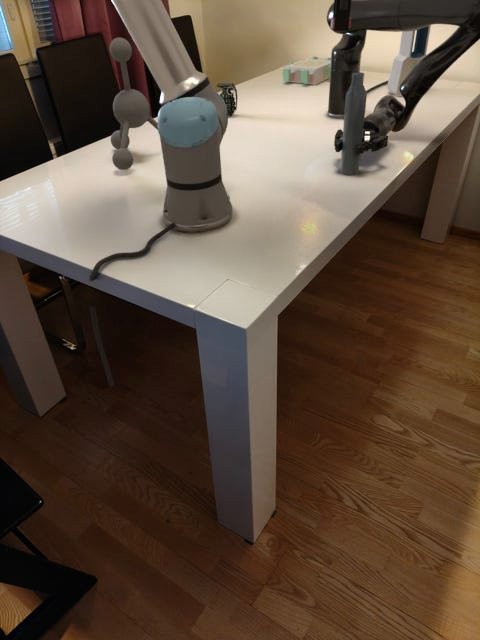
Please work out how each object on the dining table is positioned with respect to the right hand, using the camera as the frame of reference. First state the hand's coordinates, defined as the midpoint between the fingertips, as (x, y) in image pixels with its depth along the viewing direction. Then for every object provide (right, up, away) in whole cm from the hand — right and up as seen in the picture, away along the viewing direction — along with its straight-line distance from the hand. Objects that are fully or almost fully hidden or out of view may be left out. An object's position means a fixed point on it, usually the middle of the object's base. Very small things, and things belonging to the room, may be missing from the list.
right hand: (347, 149), depth 119 cm
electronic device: (+36, +43, +63) cm, 85 cm away
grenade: (-30, +30, +51) cm, 66 cm away
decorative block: (+4, +61, +89) cm, 108 cm away
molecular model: (-53, +6, +22) cm, 58 cm away
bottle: (+2, -4, +6) cm, 7 cm away
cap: (-7, +17, -24) cm, 30 cm away
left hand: (-7, +15, -24) cm, 29 cm away
